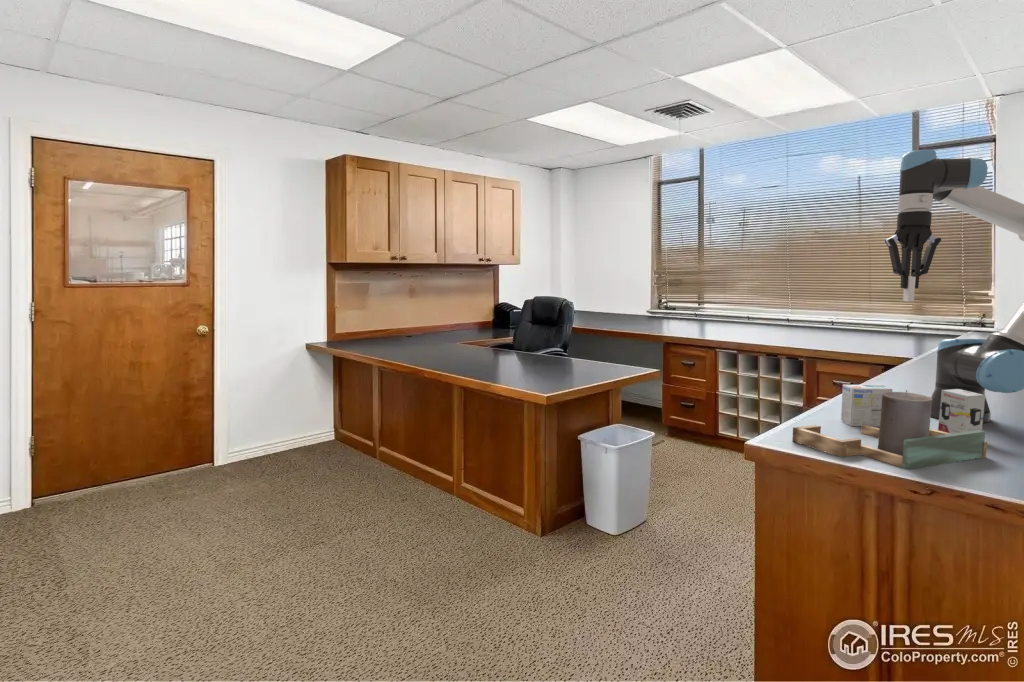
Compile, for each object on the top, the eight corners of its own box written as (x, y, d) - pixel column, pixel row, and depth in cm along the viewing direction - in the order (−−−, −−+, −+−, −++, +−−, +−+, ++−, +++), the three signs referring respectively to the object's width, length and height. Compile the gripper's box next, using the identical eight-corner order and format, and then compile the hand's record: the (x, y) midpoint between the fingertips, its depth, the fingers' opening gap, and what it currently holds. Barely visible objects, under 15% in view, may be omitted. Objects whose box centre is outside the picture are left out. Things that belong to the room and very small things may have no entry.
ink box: (936, 433, 157) (940, 388, 156) (953, 432, 157) (957, 388, 156) (963, 441, 148) (967, 395, 147) (982, 441, 149) (986, 394, 147)
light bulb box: (878, 421, 169) (881, 384, 168) (891, 427, 163) (894, 388, 161) (839, 420, 170) (841, 383, 169) (850, 426, 164) (852, 387, 162)
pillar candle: (869, 447, 143) (874, 385, 142) (913, 448, 142) (917, 386, 141) (891, 460, 134) (895, 394, 132) (937, 461, 133) (943, 395, 131)
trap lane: (792, 441, 148) (793, 417, 148) (881, 430, 159) (883, 408, 159) (888, 472, 125) (890, 444, 124) (985, 457, 136) (988, 431, 135)
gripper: (894, 210, 154) (888, 301, 157) (949, 209, 152) (942, 301, 155) (881, 213, 162) (875, 300, 164) (934, 212, 160) (927, 300, 162)
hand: (908, 301), depth 160 cm, fingers closed
